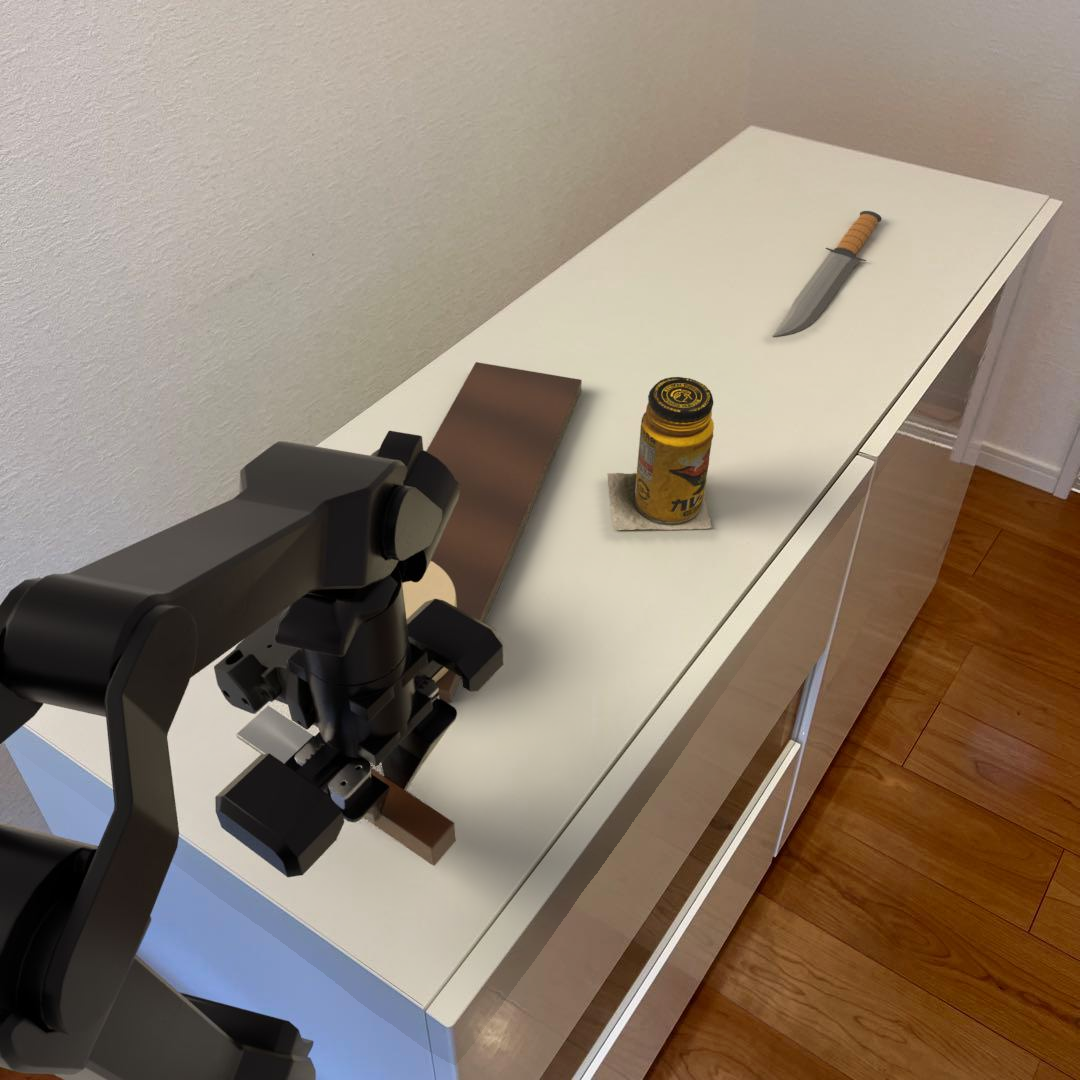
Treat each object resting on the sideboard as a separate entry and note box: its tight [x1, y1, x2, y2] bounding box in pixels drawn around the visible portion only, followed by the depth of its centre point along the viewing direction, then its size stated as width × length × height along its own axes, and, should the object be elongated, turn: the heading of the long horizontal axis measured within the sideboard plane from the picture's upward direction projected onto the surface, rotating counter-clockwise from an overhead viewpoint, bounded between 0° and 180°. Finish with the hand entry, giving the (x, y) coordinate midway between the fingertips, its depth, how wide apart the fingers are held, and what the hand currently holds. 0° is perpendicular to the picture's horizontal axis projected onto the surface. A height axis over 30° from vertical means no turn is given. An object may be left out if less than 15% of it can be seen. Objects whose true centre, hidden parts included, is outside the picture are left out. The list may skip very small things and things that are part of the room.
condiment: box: [606, 376, 715, 531], centre depth 91 cm, size 7×8×12 cm
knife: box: [772, 210, 882, 337], centre depth 123 cm, size 30×1×5 cm
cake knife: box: [236, 705, 457, 867], centre depth 70 cm, size 17×3×2 cm, turn 54°
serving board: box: [425, 361, 583, 704], centre depth 94 cm, size 40×11×2 cm, turn 164°
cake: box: [402, 561, 457, 682], centre depth 80 cm, size 10×10×5 cm
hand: (383, 803), depth 68 cm, fingers closed on cake knife, 2 cm apart
